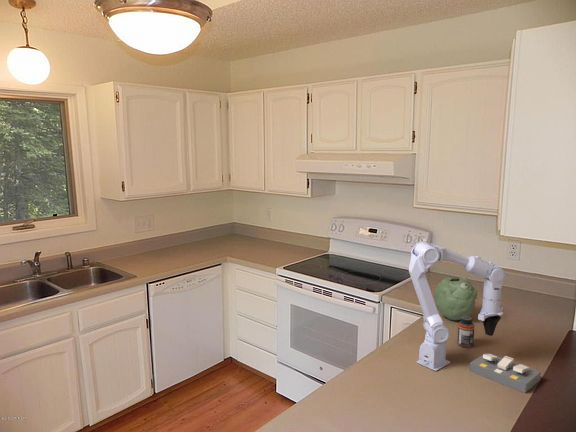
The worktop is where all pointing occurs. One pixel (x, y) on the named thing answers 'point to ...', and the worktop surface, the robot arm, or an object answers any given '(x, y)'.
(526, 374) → the switch box
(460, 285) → the cabbage
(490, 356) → the rocker
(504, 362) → the rocker
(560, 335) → the worktop surface
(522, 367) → the rocker
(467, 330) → the supplement bottle
